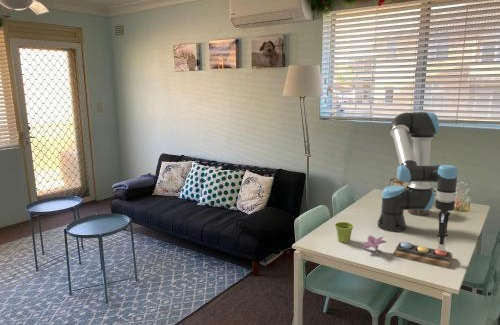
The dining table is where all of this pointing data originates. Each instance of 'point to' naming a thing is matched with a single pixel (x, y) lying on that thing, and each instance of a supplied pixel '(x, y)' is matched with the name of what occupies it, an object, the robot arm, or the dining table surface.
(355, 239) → the dining table surface
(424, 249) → the button ochre
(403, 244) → the button blue
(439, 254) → the button red
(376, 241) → the lily
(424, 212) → the plant pot
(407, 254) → the button panel
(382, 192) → the robot arm
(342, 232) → the plant pot
